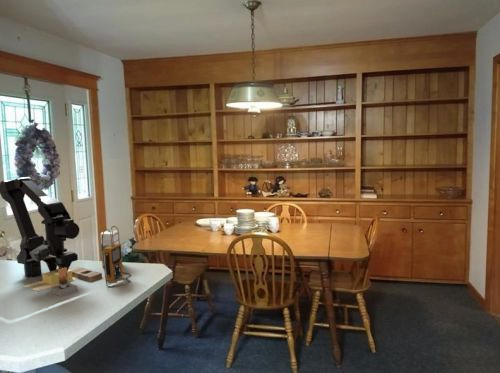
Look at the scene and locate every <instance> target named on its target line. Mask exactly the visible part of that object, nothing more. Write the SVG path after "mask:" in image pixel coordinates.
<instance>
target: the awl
mask: <svg viewBox="0 0 500 373" xmlns="http://www.w3.org/2000/svg"><path fill="white" fill-rule="evenodd" d="M57 269H58V278H59V284H60V285H61V289H64V288H67V283H69V282H68V275H67V267H60V268H59V267H57Z"/></svg>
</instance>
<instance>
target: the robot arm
mask: <svg viewBox="0 0 500 373" xmlns="http://www.w3.org/2000/svg"><path fill="white" fill-rule="evenodd" d="M0 195H1V198H2V199H3V200H4V201H5V202H7V203H8V204H9V206H10V208H11V211H12V215H13V217H14V221H15V222H16V223H15V224H16V226H17V228H18V231H19V234H20V237H21V241H20V244H19V249H20V251H19V252H18V254H17V256H16V261H17V264H20V265H23V269H24V270H23V271H24V277H26V278H36V277H40V276H42V274H43V273H42V262H41V261H43V262H44V263H45V264H46V267H47V268H48V270H49V271H48V272H50V271H54V270H56V269H58V268H60V267H67V271H68V269H70V267H71V266H72V265H71V264H72V263H73V262H75V261H78V260H79V256H78V254H77V253H76V252H73V251H68V248H65V242H66V241H67V240H68V239H69V240H74V239H75V238H77V237H78V236H79V235H80V227H79V225H78V224H77V223H76V222H75V221H74V219H72V218H71V215H70V213H69V212H68V210H67V208H66V207H65V205H64V203H63V202H61V200H59V199H57V198H55V197H51V196H49V195H48V194H46V193H45V192H44V191H43V190H42V188H40V187H39V186H38V184H36V183H35V182H34V181H33V178H31V177H29V176H25V177H17V178H15V179H8V180H7V179H6V180H2V181H0ZM25 196H27V197H28V198H29V199H30V200H31V201H32V202H33V203H34V204H35V205H36V206H37V212H38V213H39V215H40V216H41V217H42V218H43V220H42V221H41V224H42V225H44V230H45V231H44V232H45V237H44V236H43V235H39V234H37V233H36V230H35V228H34V225H33V221H32V218H31V216H30V213H29V210H28V207H27V206H26V203H25V199H24V198H25Z"/></svg>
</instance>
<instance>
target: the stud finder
mask: <svg viewBox="0 0 500 373" xmlns="http://www.w3.org/2000/svg"><path fill="white" fill-rule="evenodd" d="M69 269H70V268H69ZM69 269H68V271H67V275H68V280H69V279H72V278H73V276H72V270H69ZM41 276H42V277H41V278H42V280H43V282H45V283H48V284H51V285H53V284H56V283H59V278H58V268H57V269H56V270H54V271H48V272H44V273H42V275H41Z"/></svg>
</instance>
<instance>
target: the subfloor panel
mask: <svg viewBox="0 0 500 373" xmlns="http://www.w3.org/2000/svg"><path fill="white" fill-rule="evenodd" d="M77 279H79V278H77V277H73V278H72V279H69V280H68V283H70V282H71V281H75V280H77ZM58 285H61V284H59V283H56V284H53V285H51V284H48V283H45V282H43V279H42V280H39V281H35V282H32V283H29V284H25V285H24V287H25V288H28V289H30V290H33V291H36V292H42V291H45V290H47V289H50V288H52V287H55V286H58Z"/></svg>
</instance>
